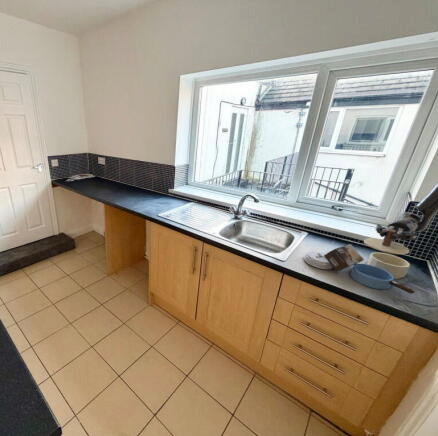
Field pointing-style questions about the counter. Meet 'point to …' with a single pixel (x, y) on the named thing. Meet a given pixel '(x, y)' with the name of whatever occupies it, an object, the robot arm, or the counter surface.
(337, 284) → the counter surface
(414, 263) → the counter surface
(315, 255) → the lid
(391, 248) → the pot lid
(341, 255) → the coffee box
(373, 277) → the pan
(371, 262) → the pot
